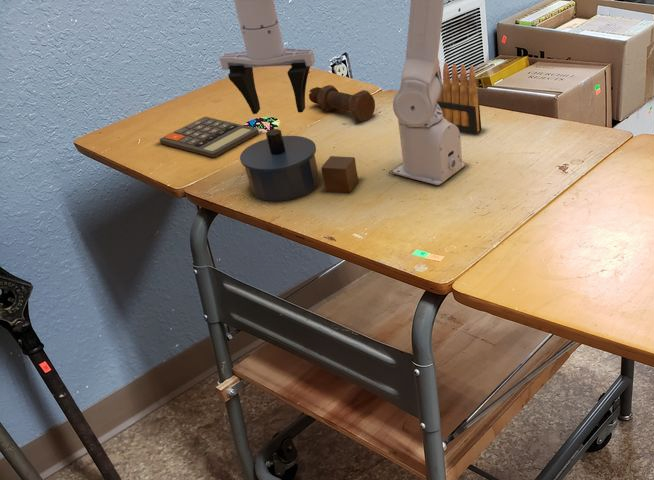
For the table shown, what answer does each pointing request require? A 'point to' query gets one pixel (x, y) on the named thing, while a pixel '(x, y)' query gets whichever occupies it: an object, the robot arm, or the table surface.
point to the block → (339, 174)
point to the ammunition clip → (460, 99)
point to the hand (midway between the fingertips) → (279, 110)
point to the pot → (284, 182)
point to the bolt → (344, 101)
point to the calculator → (209, 136)
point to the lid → (277, 152)
